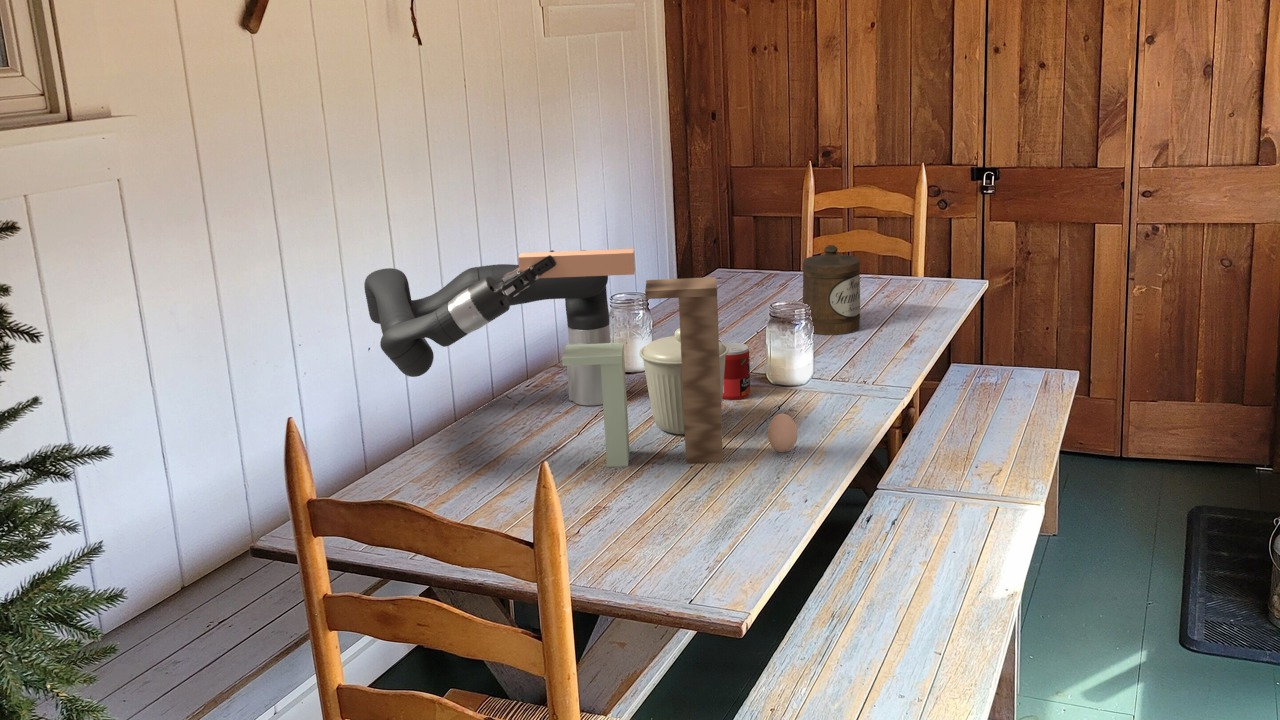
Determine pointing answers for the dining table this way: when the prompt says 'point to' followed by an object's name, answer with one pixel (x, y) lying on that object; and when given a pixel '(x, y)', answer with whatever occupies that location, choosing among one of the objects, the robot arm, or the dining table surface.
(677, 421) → the canister
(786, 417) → the egg
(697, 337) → the walnut stand
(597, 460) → the dining table surface
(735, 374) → the canned food
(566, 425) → the dining table surface
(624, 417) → the sage ledge
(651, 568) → the dining table surface
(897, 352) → the dining table surface
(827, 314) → the wooden container
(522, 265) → the peach rectangular bar
